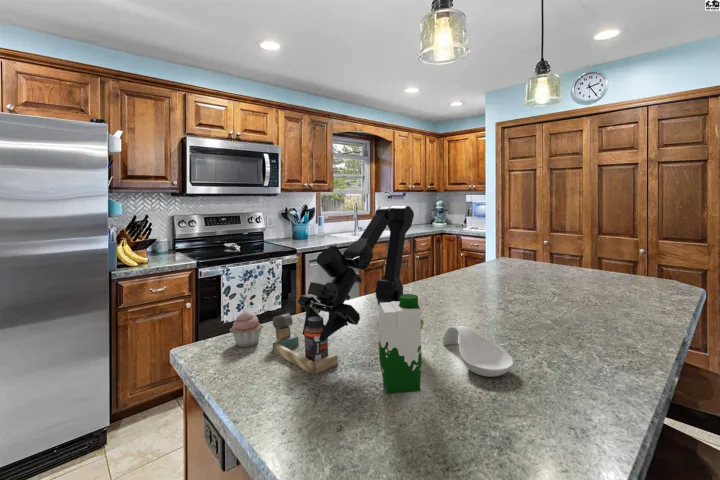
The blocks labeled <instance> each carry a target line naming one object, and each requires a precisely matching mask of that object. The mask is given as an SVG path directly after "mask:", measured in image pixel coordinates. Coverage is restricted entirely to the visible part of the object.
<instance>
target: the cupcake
mask: <svg viewBox="0 0 720 480" xmlns="http://www.w3.org/2000/svg"><path fill="white" fill-rule="evenodd" d="M263 327H264V325H262V324H261V323H260V322H259V318H258V317H257V315H255V314H253V313H251V312H249V311H248V310H246V309H245V310H243V312H242V313H240V314H239V315H238V316H237V317H236V318H235V320H234V322H233V323H232V328H230V329H229V331H230V332H231V334H232V336H233V339H234V341H235V344H236V346H237V347H241V348H248V347H253V346H256V345H257V344H258V343H259V341H260V336H261V332H262V329H263Z"/></svg>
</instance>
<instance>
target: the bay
mask: <svg viewBox="0 0 720 480" xmlns="http://www.w3.org/2000/svg"><path fill="white" fill-rule="evenodd" d="M296 346H299V336H297V335H294V336H292V337H291V338H288V339H284V340H281V341H278V342H276V341H275V342H272V353H274V354H276V355H278V356H280V357H281V358H283V359H285V360H286V361H288V362H290V363H292V364H294V365H296V366H297V367H299V368H301V369H303V370H304V371H306V372H307V373H308V374H309V373H310V374H312V375H315V374H317V373H319V372H322V371H324V370H325V371H326V370H327V369H329V368H332V367H335V366H337V365H339V361H338V358H339V356H338V354H337V353H333V354H330V355H328V356H327V357H325V358H322V359H320V360H317V361H314V362H313V361H311V360H309V359H307V358H305V356H303V355H301V354H299V353H297V352H296V351H293V350H291V348H294V347H296Z"/></svg>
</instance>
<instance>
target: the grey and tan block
mask: <svg viewBox="0 0 720 480" xmlns="http://www.w3.org/2000/svg"><path fill="white" fill-rule="evenodd" d="M292 324H293V317H292V315H291V314H290V311H286V313H284V314H279V315H276V316H273V317H272V325H273V328H274V329H275V338H276V341H275V342H278V341H281V340H284V339H288V338H291V326H292Z"/></svg>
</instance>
